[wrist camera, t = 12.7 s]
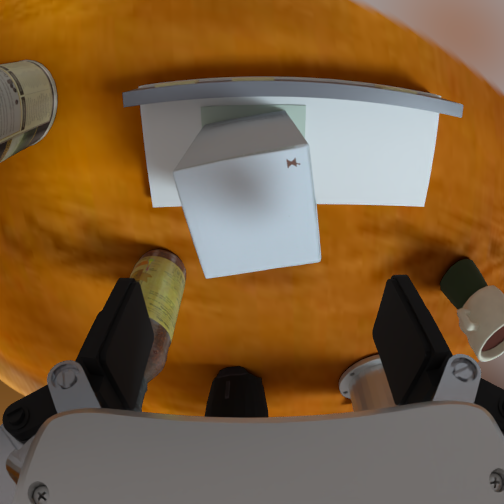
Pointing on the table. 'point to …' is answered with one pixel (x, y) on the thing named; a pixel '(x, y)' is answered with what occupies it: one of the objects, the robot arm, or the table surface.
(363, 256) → the table surface
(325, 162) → the shelf board
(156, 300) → the sauce bottle
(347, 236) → the table surface
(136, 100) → the rail
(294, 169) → the supplement box
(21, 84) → the coffee can
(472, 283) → the character mug
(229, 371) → the portable speaker
